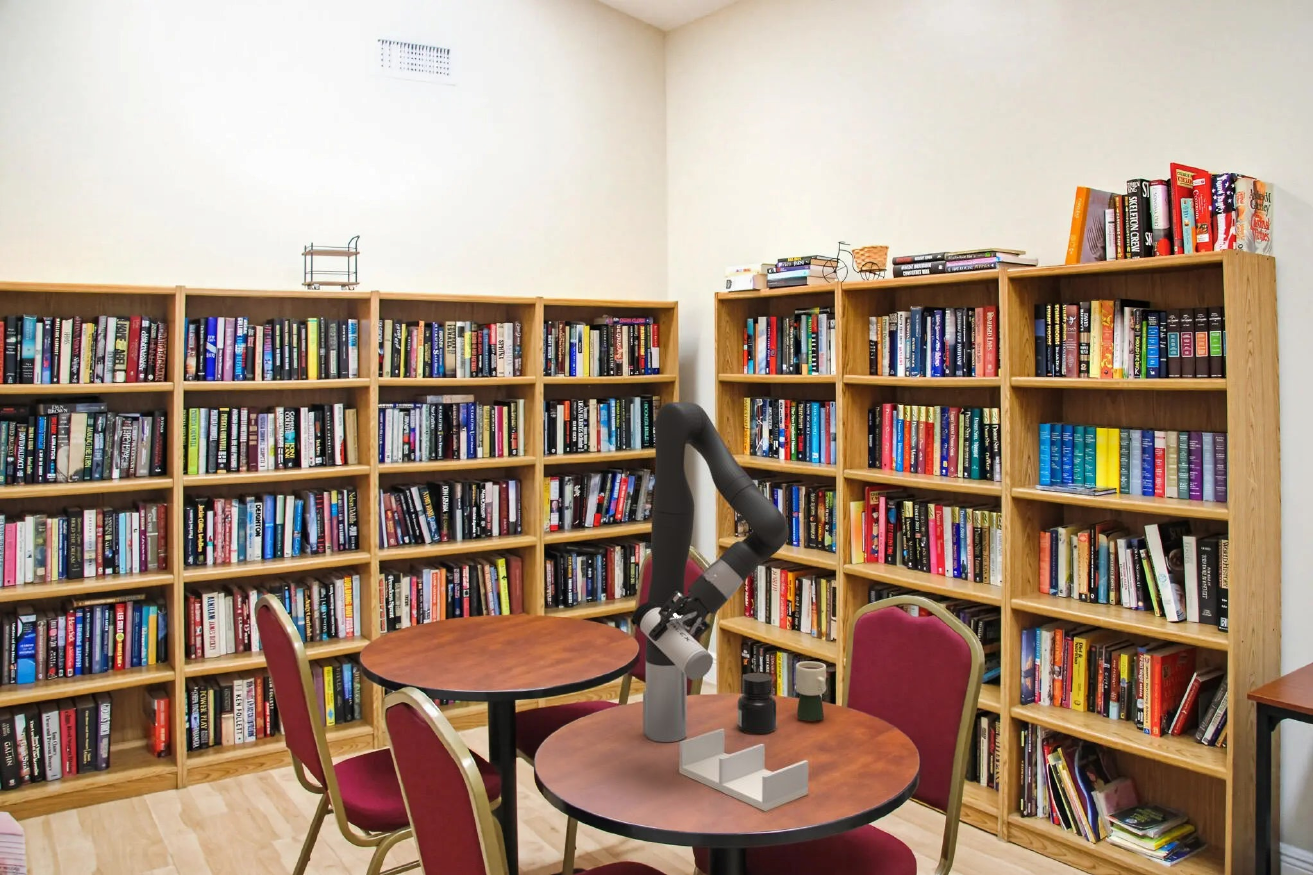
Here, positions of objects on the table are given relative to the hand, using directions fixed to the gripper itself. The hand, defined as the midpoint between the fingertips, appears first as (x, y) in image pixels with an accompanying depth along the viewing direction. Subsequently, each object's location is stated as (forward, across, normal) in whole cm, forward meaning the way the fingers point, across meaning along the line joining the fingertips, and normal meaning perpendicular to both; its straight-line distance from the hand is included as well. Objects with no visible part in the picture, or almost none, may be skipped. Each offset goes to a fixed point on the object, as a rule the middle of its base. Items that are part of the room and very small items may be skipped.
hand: (659, 645), depth 207 cm
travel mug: (-3, 0, +11) cm, 12 cm away
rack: (+8, -19, +24) cm, 32 cm away
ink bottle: (-2, -43, +4) cm, 43 cm away
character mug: (-12, -53, +8) cm, 55 cm away
